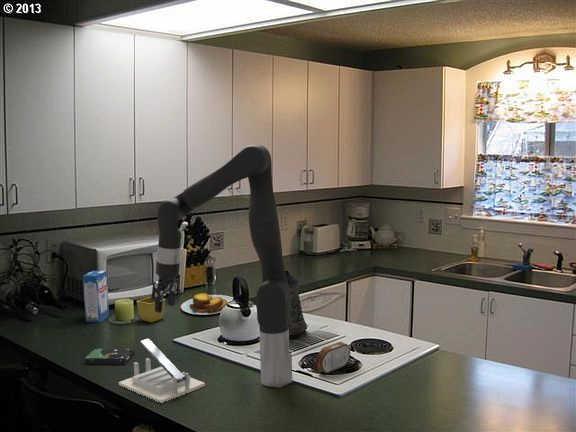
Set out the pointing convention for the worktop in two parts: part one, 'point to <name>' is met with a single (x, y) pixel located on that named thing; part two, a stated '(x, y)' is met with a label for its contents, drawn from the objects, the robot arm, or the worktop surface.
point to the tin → (333, 357)
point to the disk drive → (109, 356)
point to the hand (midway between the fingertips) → (164, 308)
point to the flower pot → (149, 309)
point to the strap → (162, 360)
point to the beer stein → (294, 310)
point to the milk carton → (96, 296)
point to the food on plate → (205, 304)
